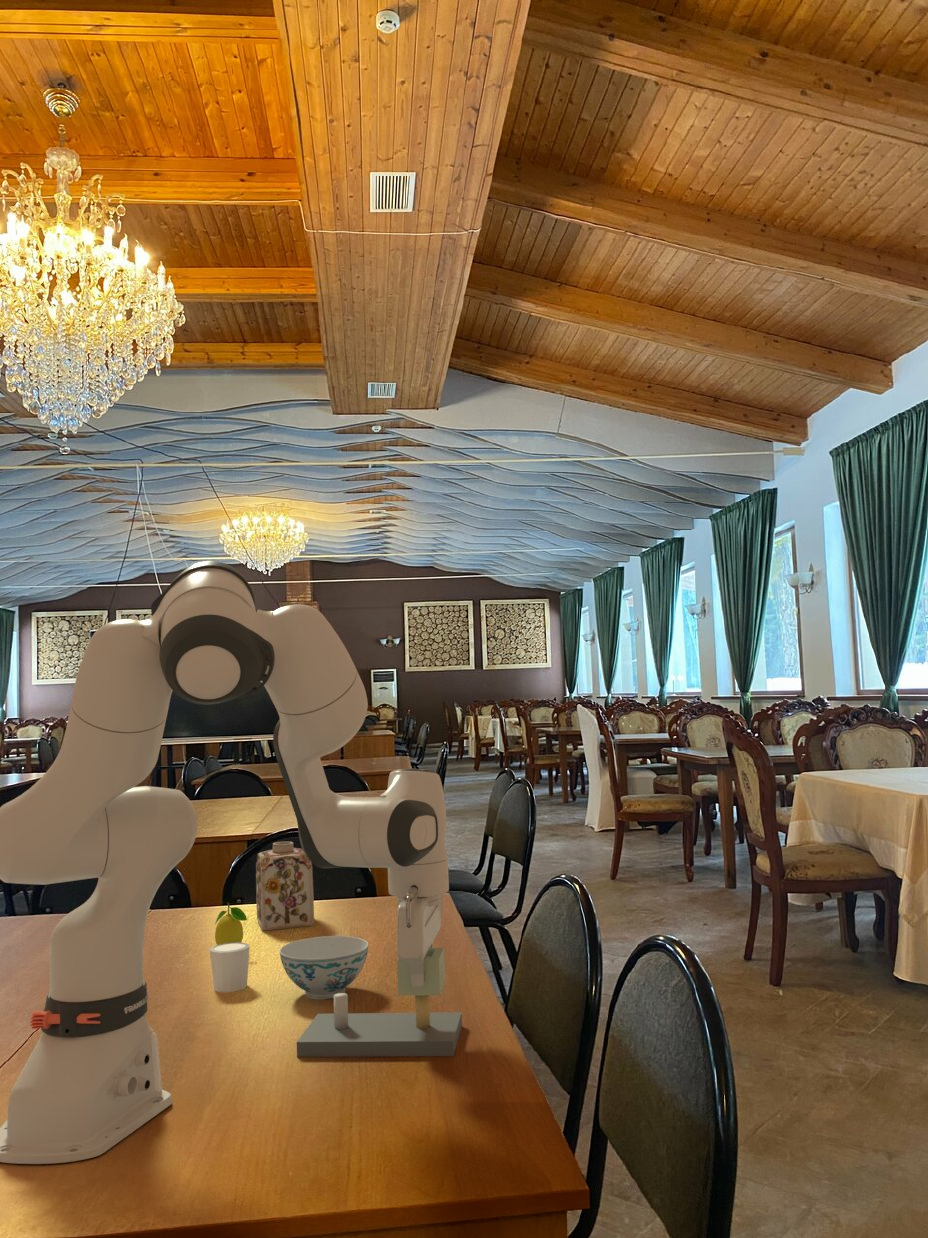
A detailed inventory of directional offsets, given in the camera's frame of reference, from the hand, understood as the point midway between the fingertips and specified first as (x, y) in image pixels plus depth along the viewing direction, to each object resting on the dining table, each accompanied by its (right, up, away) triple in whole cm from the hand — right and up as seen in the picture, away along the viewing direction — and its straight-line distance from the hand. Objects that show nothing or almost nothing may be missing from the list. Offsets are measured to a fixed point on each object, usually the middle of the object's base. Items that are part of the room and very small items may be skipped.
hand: (421, 977), depth 138 cm
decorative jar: (-34, -17, +78) cm, 87 cm away
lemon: (-41, -15, +53) cm, 69 cm away
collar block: (0, -2, 0) cm, 2 cm away
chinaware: (-17, -12, +24) cm, 32 cm away
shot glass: (-35, -13, +30) cm, 48 cm away
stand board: (-6, -9, 0) cm, 11 cm away
